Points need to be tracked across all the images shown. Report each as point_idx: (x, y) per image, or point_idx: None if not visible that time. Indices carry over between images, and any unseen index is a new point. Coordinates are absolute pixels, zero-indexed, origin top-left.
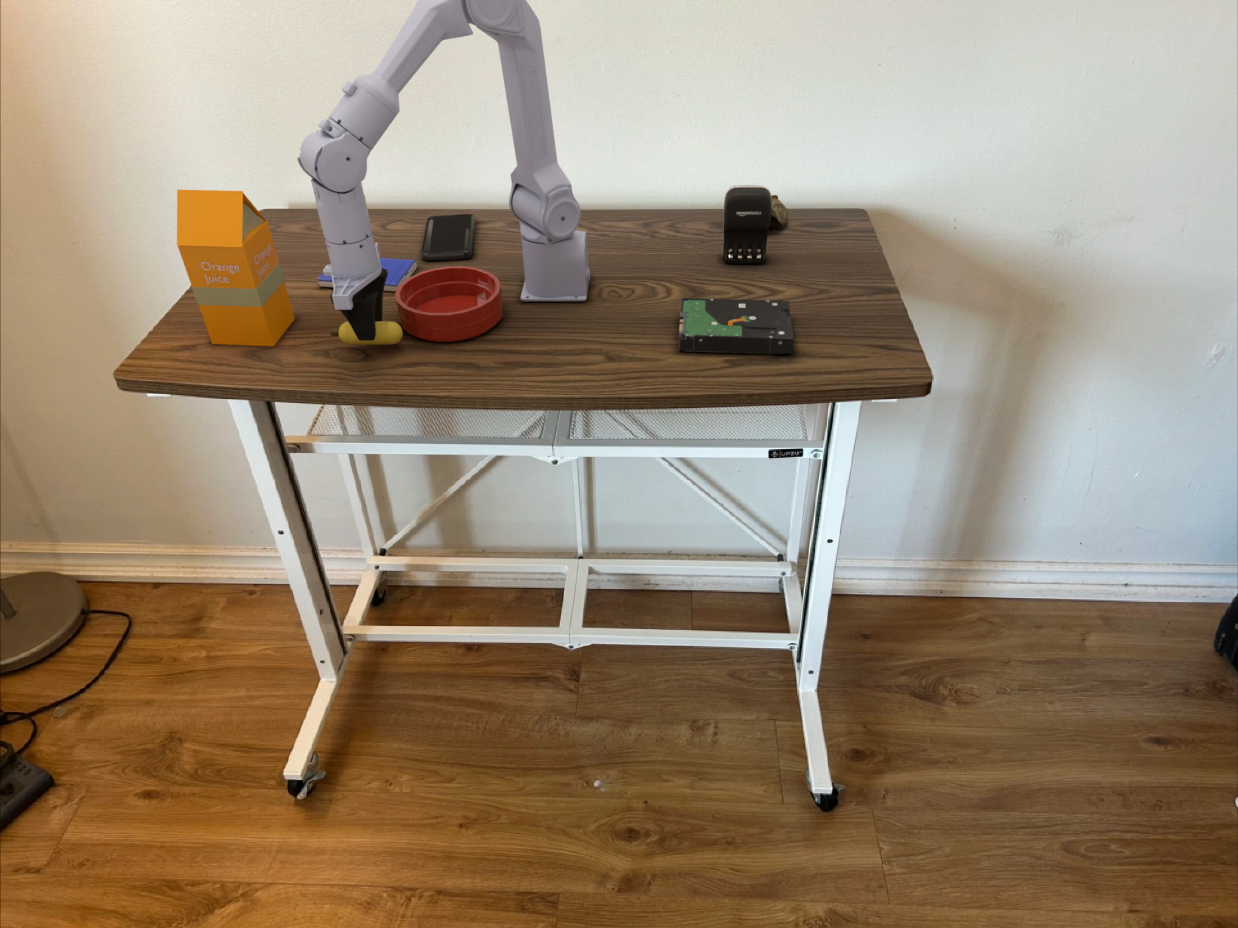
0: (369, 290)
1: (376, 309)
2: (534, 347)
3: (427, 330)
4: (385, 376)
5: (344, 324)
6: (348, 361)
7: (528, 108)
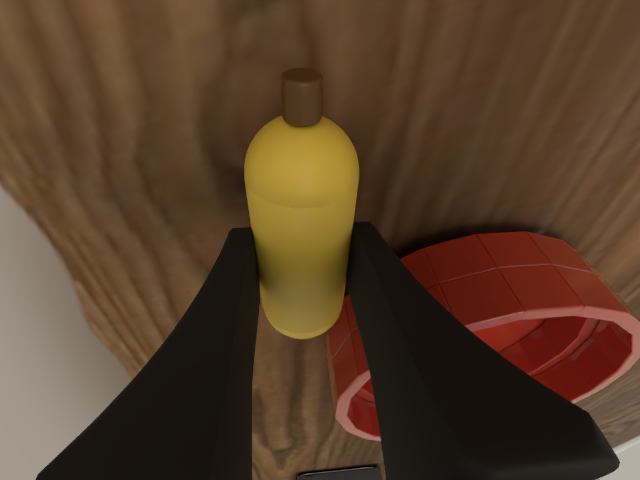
0: (393, 425)
1: (363, 329)
2: (310, 409)
3: (335, 340)
4: (146, 259)
5: (295, 193)
6: (207, 126)
7: None
